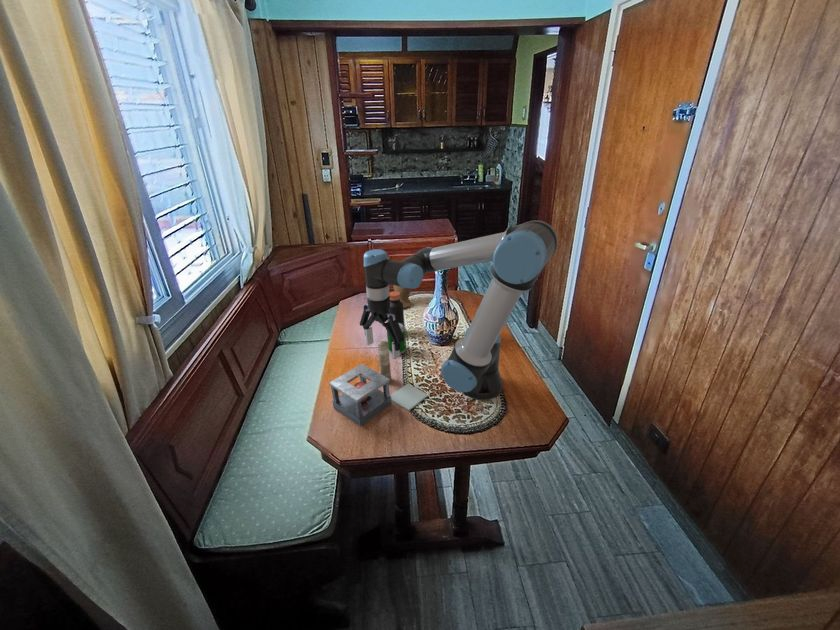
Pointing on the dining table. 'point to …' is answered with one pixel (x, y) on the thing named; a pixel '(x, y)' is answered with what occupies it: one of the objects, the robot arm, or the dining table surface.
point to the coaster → (408, 397)
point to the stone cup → (403, 295)
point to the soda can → (402, 344)
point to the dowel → (384, 359)
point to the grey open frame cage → (361, 394)
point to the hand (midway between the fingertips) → (382, 350)
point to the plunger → (359, 387)
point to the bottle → (396, 306)
